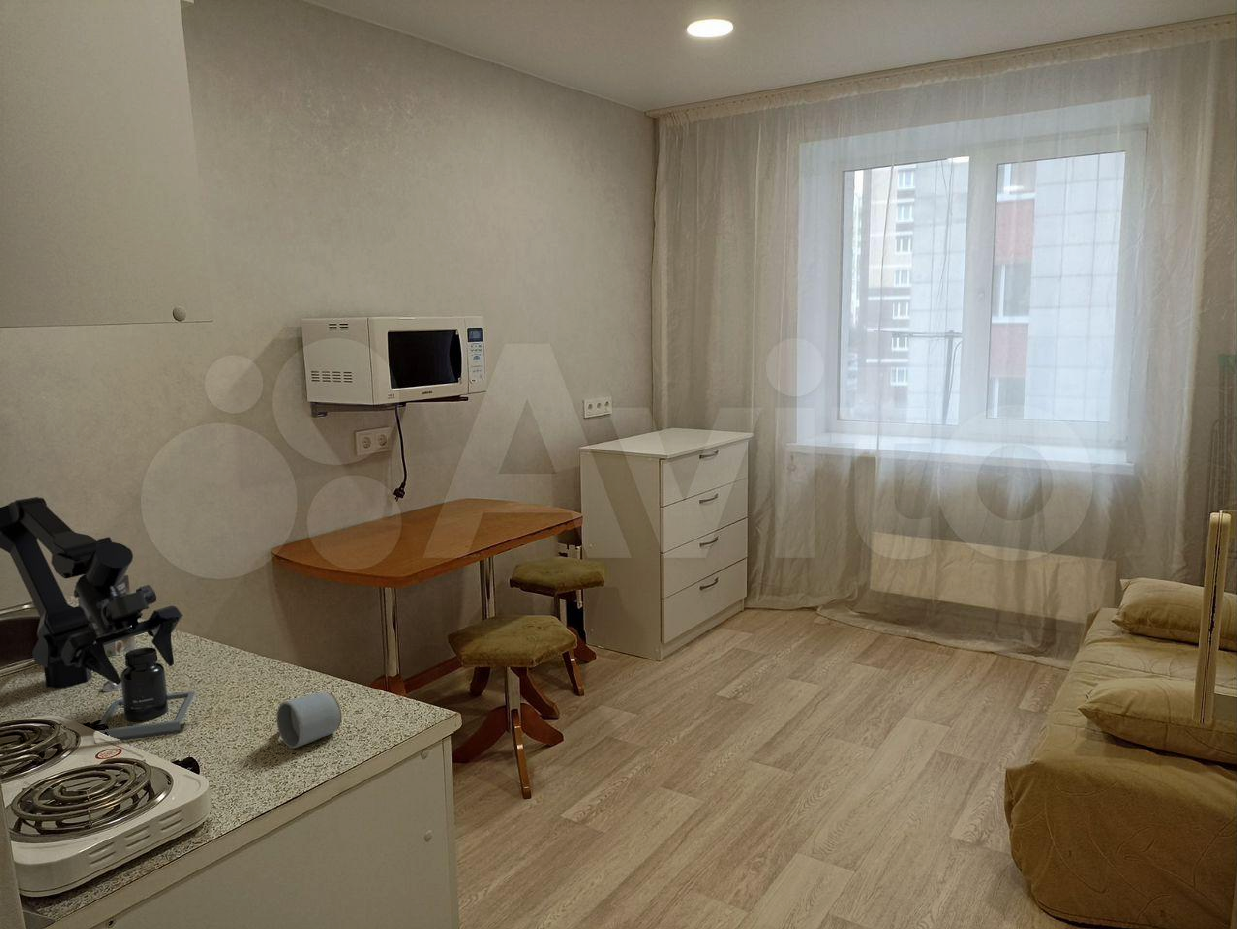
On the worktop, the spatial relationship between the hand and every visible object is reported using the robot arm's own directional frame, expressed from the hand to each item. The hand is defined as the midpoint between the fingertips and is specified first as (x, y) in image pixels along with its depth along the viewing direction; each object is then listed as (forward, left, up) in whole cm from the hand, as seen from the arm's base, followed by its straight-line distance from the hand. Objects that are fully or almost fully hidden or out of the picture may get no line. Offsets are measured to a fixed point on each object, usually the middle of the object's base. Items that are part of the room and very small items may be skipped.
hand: (146, 673), depth 151 cm
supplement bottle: (-1, +1, -9) cm, 9 cm away
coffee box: (-16, +38, -9) cm, 42 cm away
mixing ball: (-10, +15, -8) cm, 20 cm away
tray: (-1, +1, -9) cm, 9 cm away
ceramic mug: (+26, -13, -9) cm, 31 cm away
